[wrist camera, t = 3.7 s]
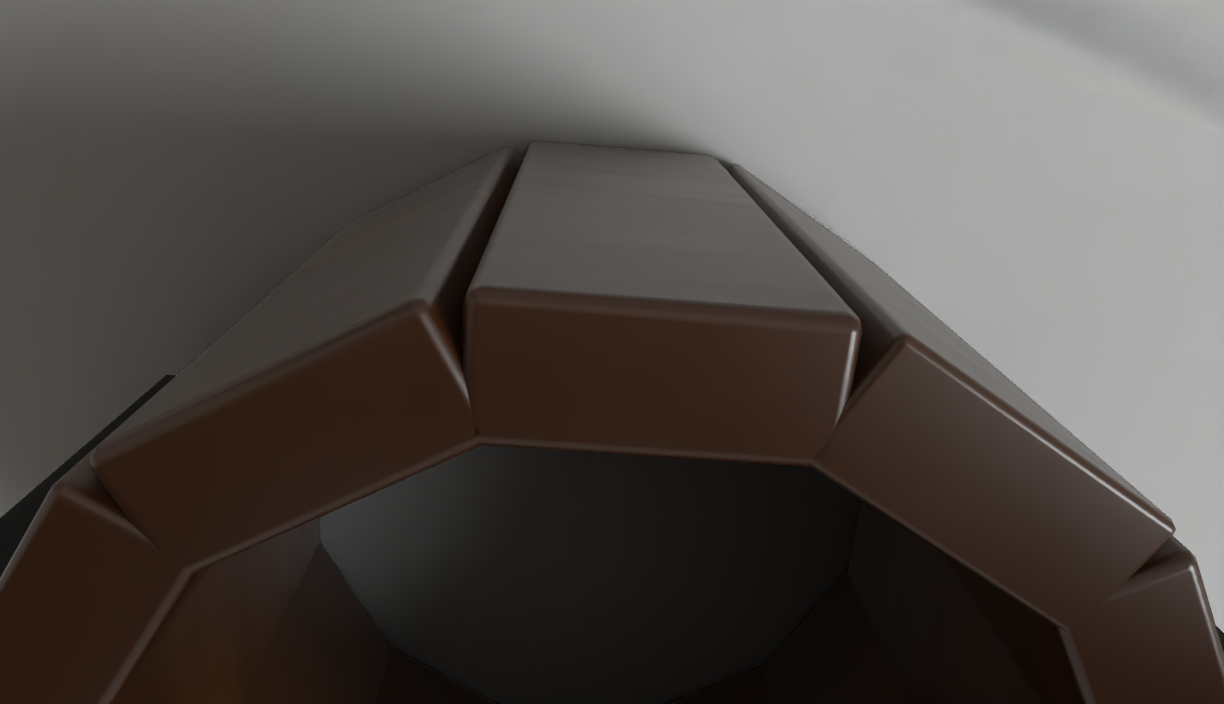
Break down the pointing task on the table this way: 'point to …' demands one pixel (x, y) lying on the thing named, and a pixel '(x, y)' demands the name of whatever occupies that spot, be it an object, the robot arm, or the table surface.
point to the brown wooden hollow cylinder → (603, 423)
